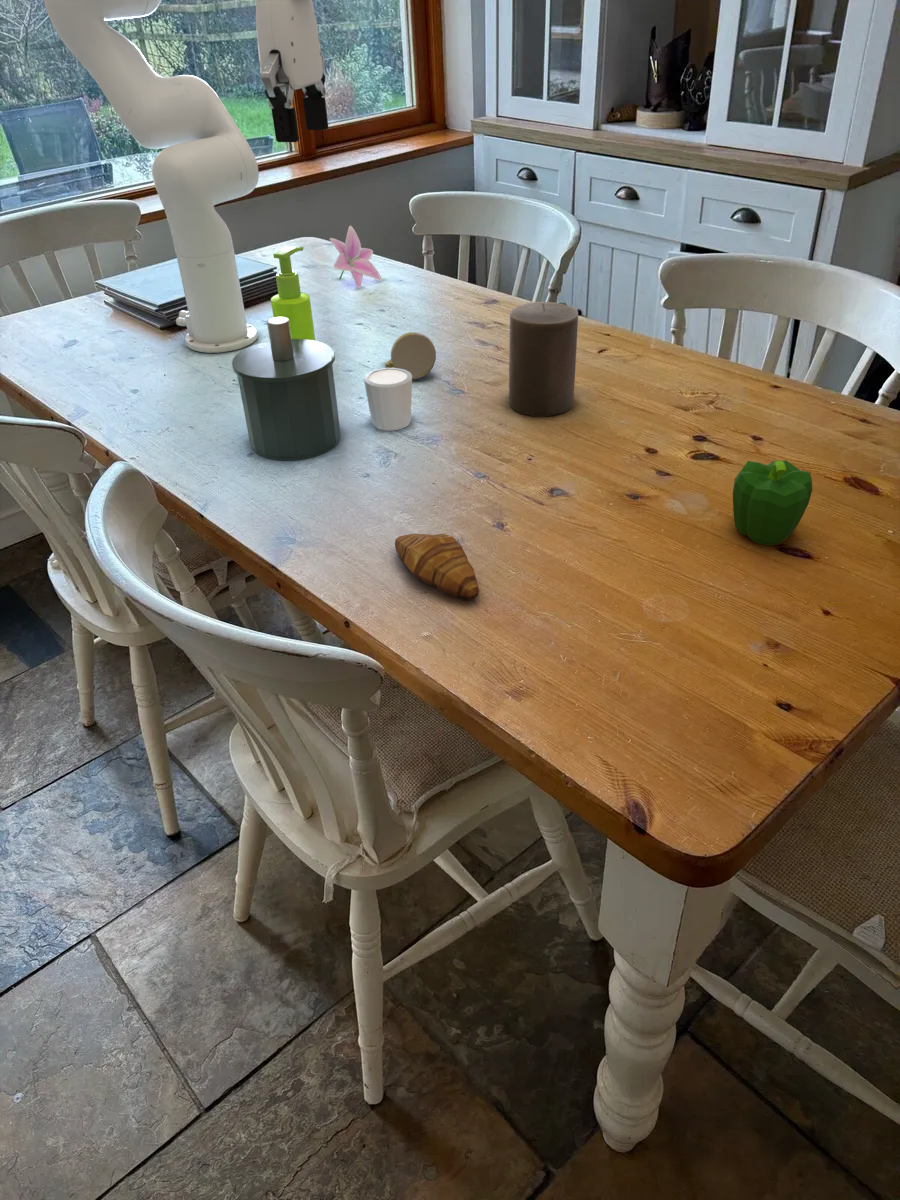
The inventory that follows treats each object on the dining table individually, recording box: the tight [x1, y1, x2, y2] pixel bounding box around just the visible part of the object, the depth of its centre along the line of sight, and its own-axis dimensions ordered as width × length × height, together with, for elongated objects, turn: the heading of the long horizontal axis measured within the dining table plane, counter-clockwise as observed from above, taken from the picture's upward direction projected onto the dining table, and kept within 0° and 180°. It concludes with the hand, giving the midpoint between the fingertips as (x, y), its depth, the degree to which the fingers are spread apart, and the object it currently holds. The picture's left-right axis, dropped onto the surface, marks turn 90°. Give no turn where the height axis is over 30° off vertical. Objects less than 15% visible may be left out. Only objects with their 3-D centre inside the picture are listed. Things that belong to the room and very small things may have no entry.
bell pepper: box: [732, 459, 813, 546], centre depth 98 cm, size 8×8×10 cm
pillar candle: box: [508, 301, 579, 418], centre depth 126 cm, size 10×10×15 cm
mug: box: [384, 331, 437, 380], centre depth 140 cm, size 8×10×10 cm
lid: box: [231, 317, 336, 382], centre depth 115 cm, size 14×14×6 cm
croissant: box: [394, 533, 480, 601], centre depth 95 cm, size 14×7×5 cm, turn 39°
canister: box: [236, 364, 341, 462], centre depth 120 cm, size 13×13×12 cm
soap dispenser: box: [270, 245, 316, 341], centre depth 135 cm, size 6×7×20 cm
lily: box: [329, 225, 383, 289], centre depth 178 cm, size 12×12×10 cm
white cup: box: [363, 367, 413, 432], centre depth 125 cm, size 7×7×7 cm
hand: (303, 135), depth 121 cm, fingers open, 9 cm apart
